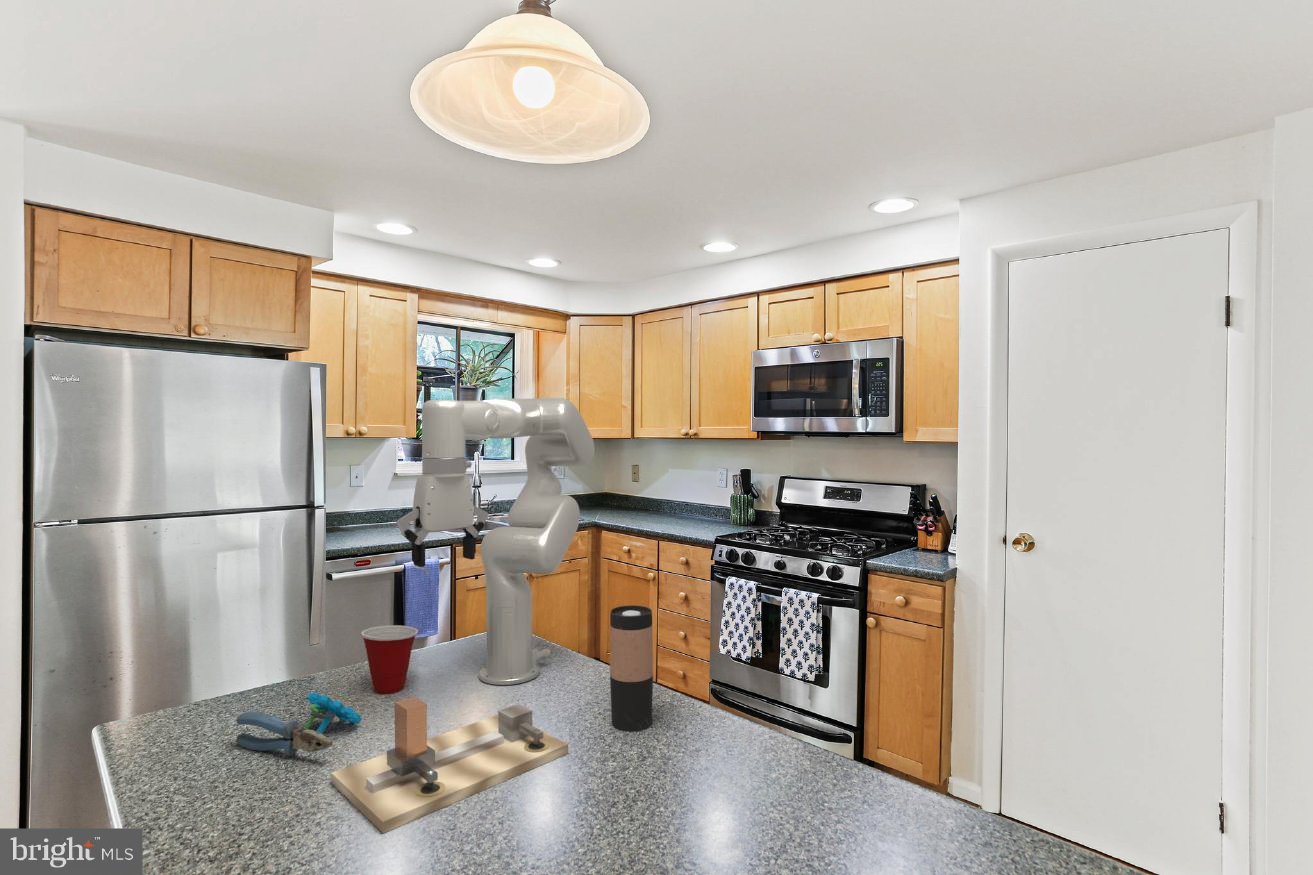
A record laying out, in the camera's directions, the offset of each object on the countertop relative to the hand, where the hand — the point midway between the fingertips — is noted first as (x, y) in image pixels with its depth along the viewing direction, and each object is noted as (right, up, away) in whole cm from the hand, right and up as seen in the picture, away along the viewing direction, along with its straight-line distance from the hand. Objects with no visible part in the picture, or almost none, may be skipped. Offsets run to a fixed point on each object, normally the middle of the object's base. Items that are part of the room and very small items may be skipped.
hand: (444, 562), depth 121 cm
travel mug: (+34, -28, -3) cm, 44 cm away
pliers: (-22, -29, -14) cm, 39 cm away
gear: (-18, -29, -5) cm, 34 cm away
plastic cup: (-16, -29, +14) cm, 35 cm away
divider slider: (+4, -26, -25) cm, 36 cm away
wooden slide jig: (+7, -28, -18) cm, 34 cm away
